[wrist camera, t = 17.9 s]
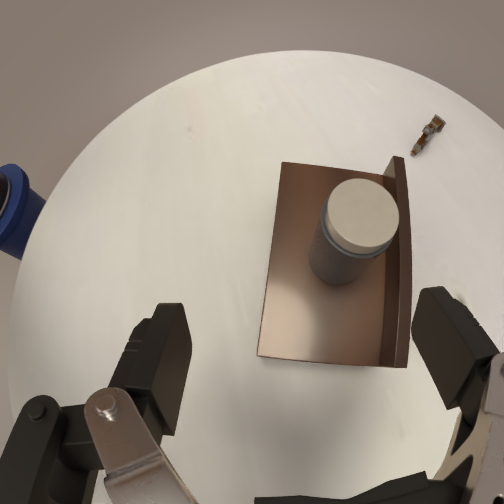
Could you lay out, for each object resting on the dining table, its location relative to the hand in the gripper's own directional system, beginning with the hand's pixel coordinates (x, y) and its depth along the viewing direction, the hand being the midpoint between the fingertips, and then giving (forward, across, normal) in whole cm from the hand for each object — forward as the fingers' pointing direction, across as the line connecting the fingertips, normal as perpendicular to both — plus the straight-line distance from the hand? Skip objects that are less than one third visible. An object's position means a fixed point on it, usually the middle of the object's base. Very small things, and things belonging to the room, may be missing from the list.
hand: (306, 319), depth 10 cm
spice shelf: (+17, -4, +9) cm, 19 cm away
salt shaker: (+13, -4, +5) cm, 14 cm away
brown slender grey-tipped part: (+29, -20, -3) cm, 35 cm away
